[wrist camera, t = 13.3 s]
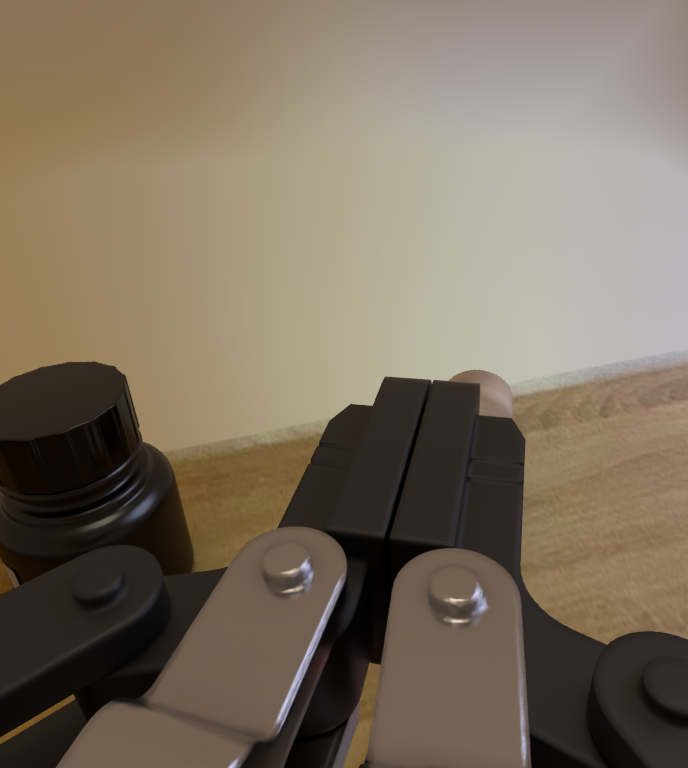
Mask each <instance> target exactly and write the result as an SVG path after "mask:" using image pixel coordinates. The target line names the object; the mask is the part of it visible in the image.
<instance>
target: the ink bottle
mask: <svg viewBox="0 0 688 768" xmlns="http://www.w3.org/2000/svg"><path fill="white" fill-rule="evenodd" d="M114 545H131V546H136V547H140V548H142V549H145V550H147V551H148V552H150V553H151V554H153V556H154V557H155V558H156V559H157V560H158V562H159V564H160V567H161V570H162V573H163V576H169V575H177V574H186V573H191V571H192V566H193V548H192V543H191V539H190V535H189V531H188V527H187V523H186V519H185V515H184V511H183V507H182V503H181V499H180V495H179V491H178V487H177V483H176V479H175V475H174V472H173V469H172V466H171V464H170V462H169V461H168V459H167V458H166V457H165V455H164V454H163V453H162V452H160V451H159V450H158V449H156V448H155V447H153V446H151V445H150V444H147V443H145V442H142V435H141V433H140V431H139V423H138V419H137V416H136V412H135V408H134V405H133V401H132V397H131V394H130V390H129V386H128V383H127V379H126V376H125V375H124V374H122V373H121V372H120V371H118V370H117V369H116V367H114V366H109V365H105V364H101V363H97V362H66V363H63V364H57V365H52V366H47V367H41V368H38V369H36V370H33V371H31V372H27V373H25V374H22V375H19V376H15V377H13V378H11V379H10V380H8V381H7V382H5V383H3V384H1V385H0V558H1V561H2V563H3V565H4V567H5V569H6V571H7V573H8V576H9V578H10V580H11V582H12V584H13V586H14V588H16V587H18V586H20V585H22V584H24V583H26V582H28V581H30V580H32V579H34V578H36V577H38V576H40V575H42V574H44V573H46V572H48V571H50V570H52V569H55V568H57V567H59V566H61V565H63V564H65V563H67V562H69V561H71V560H73V559H75V558H77V557H79V556H81V555H83V554H86V553H88V552H90V551H93V550H96V549H99V548H103V547H108V546H114Z"/></svg>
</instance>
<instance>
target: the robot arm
mask: <svg viewBox="0 0 688 768" xmlns="http://www.w3.org/2000/svg"><path fill="white" fill-rule="evenodd" d="M479 409H480V383H467V382H454V381H440V380H434V381H433V383H431V380H424V379H412V378H397V377H385V378H384V380H383V382H382V384H381V387H380V389H379V392H378V394H377V397H376V399H375V402H374V404H373V406H366V405H355V404H350V405H349V406H348V407H346V409H344V410H343V411H341V412H340V413H339V414H338V415H336V416H335V417H334V418H333V419H331V420H330V421H329V423H328V425H327V427H326V429H325V431H324V433H323V435H322V438H321V440H320V442H319V446H317V448H316V450H315V452H314V454H313V456H312V458H311V463H310V464H308V466H307V468H306V470H305V472H304V475H303V477H302V479H301V481H300V483H299V485H298V487H297V489H296V491H295V493H294V495H293V497H292V499H291V501H290V503H289V505H288V507H287V510H286V512H285V514H284V516H283V518H282V520H281V522H280V524H279V526H278V528H277V529H274V530H271V531H268V532H266V533H263V534H261V535H259V536H257V537H255V538H254V539H252V540H251V541H250V542H248V543H247V544H246V545H245V546H244V547H243V548H242V549H241V550H240V551H239V552H238V553H237V555H236V556H235V557H234V559H233V561H232V562H231V564H230V565H229V567H225V568H222V569H217V570H211V571H203V572H194V573H186V574H177V575H169V576H163V573H162V570H161V567H160V564H159V562H158V560H157V559H156V558H155V557H154V556H153V554H151V553H150V552H148V551H147V550H145V549H142V548H140V547H136V546H131V545H114V546H108V547H103V548H99V549H96V550H93V551H90V552H88V553H86V554H83V555H81V556H79V557H77V558H75V559H73V560H71V561H69V562H67V563H65V564H63V565H61V566H59V567H57V568H55V569H52V570H50V571H48V572H46V573H44V574H42V575H40V576H38V577H36V578H34V579H32V580H30V581H28V582H26V583H24V584H22V585H20V586H18V587H16V588H14V589H12V590H10V591H8V592H6V593H4V594H2V595H0V737H2V736H3V735H5V734H7V733H8V732H10V731H12V730H13V729H15V728H17V727H18V726H20V725H22V724H23V723H25V722H27V721H28V720H30V719H32V718H34V717H35V716H37V715H39V714H40V713H42V712H44V711H45V710H47V709H49V708H50V707H52V706H54V705H55V704H57V703H59V702H60V701H62V700H64V699H66V698H67V697H69V696H71V695H72V694H74V696H75V698H76V699H75V700H74V701H72V702H70V703H69V704H67V705H65V706H64V707H62V708H60V709H59V710H57V711H55V712H54V713H52V714H50V715H49V716H47V717H45V718H44V719H42V720H40V721H39V722H37V723H35V724H34V725H32V726H30V727H29V728H27V729H25V730H24V731H22V732H20V733H19V734H17V735H15V736H14V737H12V738H10V739H9V740H7V741H5V742H4V743H2V744H0V768H343V765H344V762H345V759H346V756H347V753H348V750H349V747H350V744H351V741H352V738H353V735H354V732H355V729H356V726H357V722H358V718H359V712H360V703H359V699H360V697H361V693H362V689H363V685H364V682H365V678H366V674H367V670H368V666H369V662H370V663H375V664H380V665H381V668H380V674H379V681H378V688H377V694H376V701H375V707H374V714H373V721H372V727H371V734H370V740H369V746H368V752H367V756H366V760H365V762H364V764H363V765H362V764H361V765H360V766H359V768H688V640H687V639H684V638H682V637H679V636H675V635H671V634H667V633H661V632H653V631H648V632H635V633H629V634H626V635H623V636H621V637H618V638H617V639H615V640H613V641H612V642H610V643H609V644H608V645H606V644H604V643H602V642H599V641H597V640H595V639H593V638H590V637H588V636H586V635H584V634H581V633H579V632H577V631H575V630H573V629H571V628H569V627H567V626H565V625H563V624H561V623H560V622H558V621H557V620H555V619H554V618H552V617H551V616H549V615H548V614H547V613H546V612H545V611H544V610H542V609H541V608H540V607H539V605H538V604H537V603H536V602H535V601H534V600H533V598H532V597H531V596H530V594H529V593H528V591H527V589H526V587H525V585H524V583H523V579H522V575H521V567H520V560H521V536H522V511H523V484H524V461H525V438H524V437H523V435H522V433H521V432H520V430H519V429H518V427H517V425H516V424H515V422H514V421H513V419H512V418H506V417H494V416H483V415H479Z"/></svg>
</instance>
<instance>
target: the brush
mask: <svg viewBox="0 0 688 768" xmlns="http://www.w3.org/2000/svg"><path fill="white" fill-rule="evenodd" d="M449 381H454V382H467V383H480V409H479V415H483V416H494V417H506V418H512V419H513V395H512V391H511V389H510V387H509V386H508V384H507V383H506V382H505V381H504V380H503V379H502V378H500V377H499V376H497V375H495V374H493V373H491V372H487V371H482V370H470V371H465V372H462V373H459V374H457V375H456V376H454V377H452V378H451V379H450V380H449Z"/></svg>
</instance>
